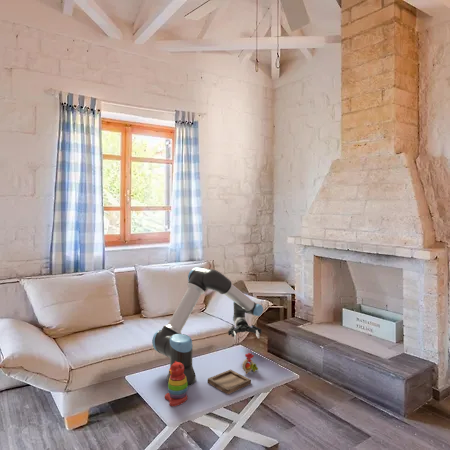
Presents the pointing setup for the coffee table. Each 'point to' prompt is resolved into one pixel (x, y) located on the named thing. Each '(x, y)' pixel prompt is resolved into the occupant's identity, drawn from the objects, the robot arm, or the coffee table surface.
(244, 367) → the bird rattle
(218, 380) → the walnut plate
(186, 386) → the stacking bear
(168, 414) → the coffee table surface
